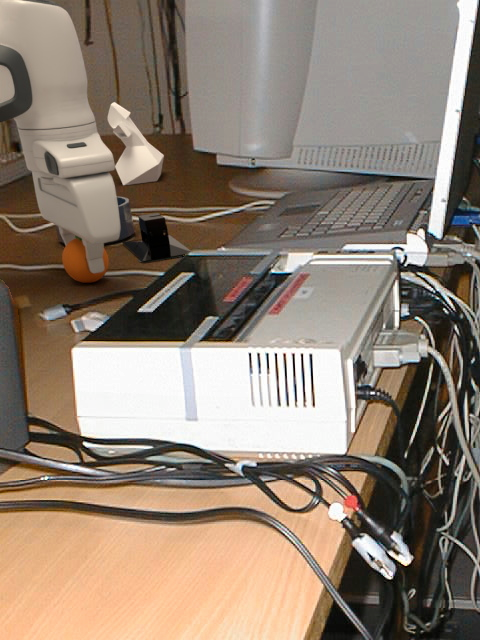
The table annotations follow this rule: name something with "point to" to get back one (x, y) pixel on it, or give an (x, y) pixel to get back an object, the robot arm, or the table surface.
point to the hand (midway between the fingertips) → (87, 266)
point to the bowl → (125, 220)
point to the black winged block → (155, 241)
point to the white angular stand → (134, 150)
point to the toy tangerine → (80, 262)
